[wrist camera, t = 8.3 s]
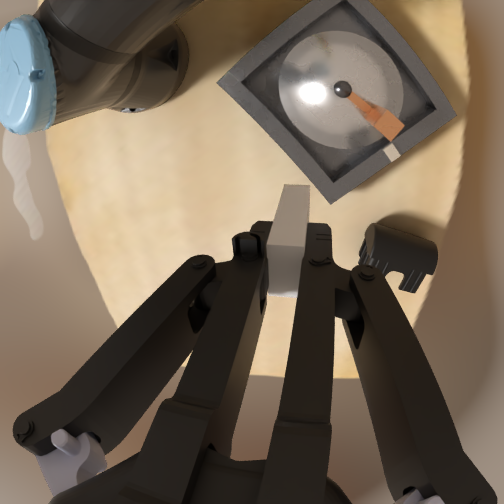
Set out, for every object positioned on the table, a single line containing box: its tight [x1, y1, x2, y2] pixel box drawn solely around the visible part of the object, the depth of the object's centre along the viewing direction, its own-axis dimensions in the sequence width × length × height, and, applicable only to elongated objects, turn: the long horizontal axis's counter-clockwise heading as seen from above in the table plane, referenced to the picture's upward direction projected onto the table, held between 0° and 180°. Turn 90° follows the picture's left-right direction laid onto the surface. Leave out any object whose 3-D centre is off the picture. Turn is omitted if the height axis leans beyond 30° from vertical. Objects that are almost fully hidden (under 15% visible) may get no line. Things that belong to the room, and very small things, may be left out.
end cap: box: [358, 223, 438, 293], centre depth 37 cm, size 10×7×7 cm
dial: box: [279, 31, 405, 149], centre depth 25 cm, size 14×14×8 cm
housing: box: [217, 0, 457, 205], centre depth 28 cm, size 20×20×4 cm
